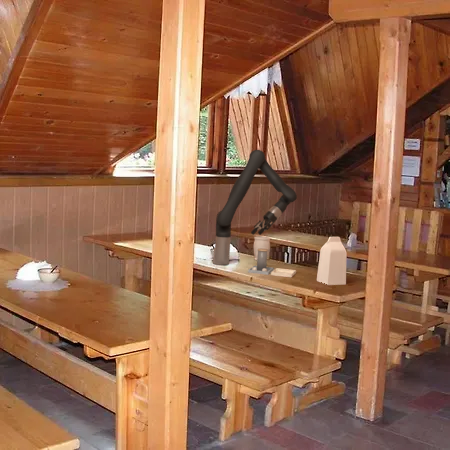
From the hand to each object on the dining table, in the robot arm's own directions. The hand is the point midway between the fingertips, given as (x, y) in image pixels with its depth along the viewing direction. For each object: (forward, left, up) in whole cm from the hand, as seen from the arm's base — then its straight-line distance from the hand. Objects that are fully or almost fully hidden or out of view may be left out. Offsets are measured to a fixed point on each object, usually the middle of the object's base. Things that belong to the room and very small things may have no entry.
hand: (255, 233), depth 399 cm
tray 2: (+20, -6, -22) cm, 30 cm away
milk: (+48, -13, -22) cm, 55 cm away
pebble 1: (+3, -11, -21) cm, 24 cm away
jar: (-4, +36, -22) cm, 43 cm away
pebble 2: (+9, -11, -21) cm, 26 cm away
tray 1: (+6, -6, -22) cm, 23 cm away
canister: (+6, -6, -21) cm, 23 cm away
